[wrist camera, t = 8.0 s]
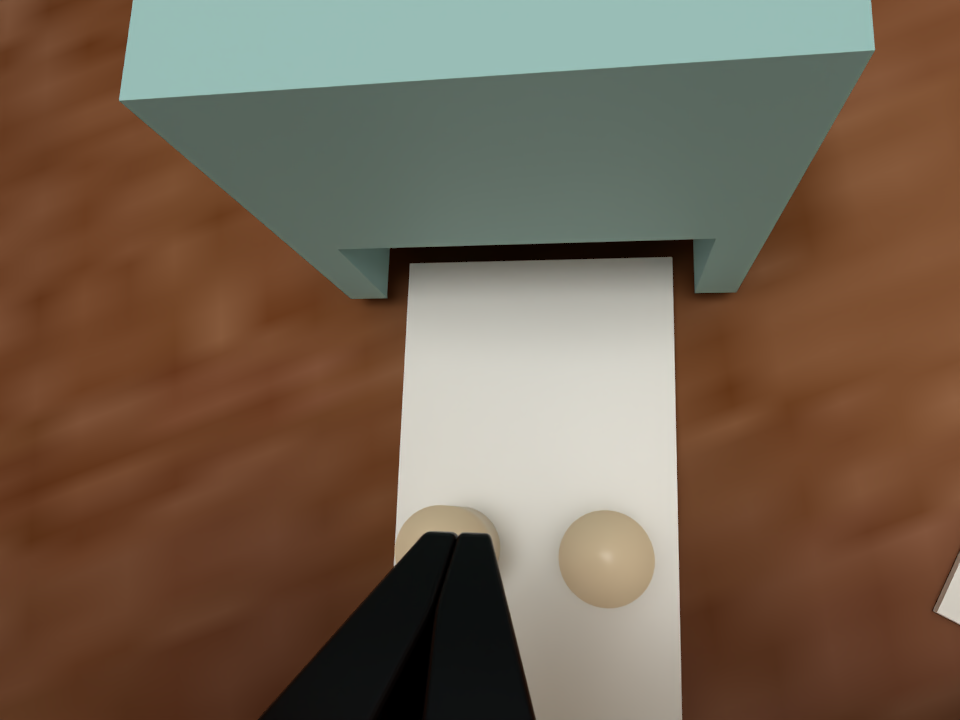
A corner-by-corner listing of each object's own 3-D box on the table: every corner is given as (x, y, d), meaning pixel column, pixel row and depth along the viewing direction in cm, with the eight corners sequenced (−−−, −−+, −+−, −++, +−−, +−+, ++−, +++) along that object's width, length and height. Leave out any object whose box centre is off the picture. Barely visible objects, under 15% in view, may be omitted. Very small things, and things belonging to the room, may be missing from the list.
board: (680, 752, 18) (695, 801, 15) (391, 728, 19) (350, 769, 16) (670, 264, 20) (681, 219, 17) (415, 270, 21) (383, 229, 18)
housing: (736, 292, 19) (875, 50, 9) (351, 298, 20) (119, 101, 11) (724, -26, 20) (828, -511, 11) (371, 5, 22) (188, -393, 12)
